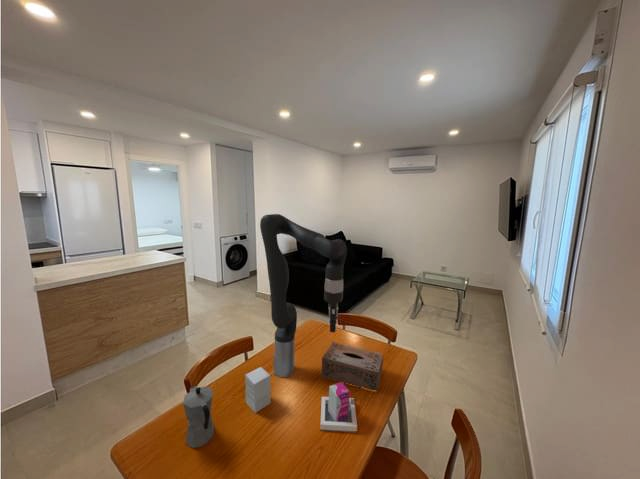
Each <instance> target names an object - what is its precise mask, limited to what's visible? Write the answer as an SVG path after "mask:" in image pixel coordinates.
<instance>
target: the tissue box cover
mask: <svg viewBox="0 0 640 479" xmlns="http://www.w3.org/2000/svg"><path fill="white" fill-rule="evenodd" d="M383 362H384V354H383V353H380V352H375V351H371V350H367V349H363V348H360V347H355V346H351V345H347V344H344V343H338V342H335V341H331V344H329V347H327V349H326V351H325V352H324V354H323V355H322V357H321V377H322V378H325V379H328V378H329V380H331V379H332V381H335V380H336V382H338V381H340V382H344V383H343V384H345V383H348V384H352V385H356V386H359V387H364V388H367V389H371V390H376V391H377V390H378V391H379V388H378V386H379V387H380V383H379V382H381V379H380V377H381V378H382V375H381V373H382V374H383V365H384V363H383ZM340 382H339V383H340ZM348 384H347V385H348Z"/></svg>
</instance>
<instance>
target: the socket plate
mask: <svg viewBox="0 0 640 479" xmlns="http://www.w3.org/2000/svg"><path fill="white" fill-rule="evenodd" d="M328 402H329V396H321V402H320V403H321V405H320V406H321V407H320V428H319V429H320V430H319V431H327V432H328V431H329V432H339V431H340V433H343V432H345V433H352V432H351V431H357V432H358V423H357V414H356V404H355V398H353V397H352V398H351V397H349V408H348V418H347V419H344V420H341V421H339V422H334V421H333V419H332V418H331V416H330V415H329V413H328ZM346 431H347V432H346Z"/></svg>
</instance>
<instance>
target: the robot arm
mask: <svg viewBox="0 0 640 479" xmlns="http://www.w3.org/2000/svg"><path fill="white" fill-rule="evenodd" d="M259 223H260V224H259V228H260V233H261V238H262V242H263V247H264V251H265V258H266V265H267V266H266V267H267V276H268V282H269V290H270V292H269V293H270V303H271V304H270V305H271V309H270V310H271V314H270V316H271V321H272V323H273V325H274V326H275V327H276V330H275V331H274V332H275V333H274V354H273V375H275V376H277V377H279V378H288V377H290V376H292V375H293V374H294V372H295V336H296V330H297V321H298V320H297V318H298V317H297V316H298V315H297V314H298V313H297V312H298V311H297V309H296V307H295V305H294V304H292V303H291V302H287V291H288V286H289V282H290V272H289V265H288V261H287V259H286V257H285V255H284V253H283V252H282V250H281V249H280V246H279V242H278V235H280V234H282V235H286V236H290V237H292V238H294V239H295V241H297V242H298V243H300V244H301V245H303V246H305V247H307V248H308V249H309V248H310V249H312V250H315V251H316V252H317V253H319V254H320V255H321V256H323V257H325V258H328V259H329V261H328V263H327V264H326V266H325V277H324V278H325V279H324V280H325V281H324V293H323V294H324V295H323V297H324V298H323V300H324V301H325V302H326V303H328V307H327V308H328V318H329V332H330V333H336V329H337V328H336V327H337V318H338V314H339V313H338V311H339V303H341V302H343V299H344V268H345V263H346V259H347V255H348V254H347V252H348V251H347V250H348V248H347V244H346V242H345V241H344V240H343V239H340V238H338V239H337V238H336V239H333V240H330V239H328V238H326V237H325V235H324V234H322V233H319V232H317V231H314V230H312V229H310V228H306V227H304V226H302V225H300V224H298V223H296V222H293V221H292V220H290V219H288V217H286V216H284V215H282V214H279V213H274V214H273V213H272V214H265V215H263V216H262V217H261V218H260V222H259Z"/></svg>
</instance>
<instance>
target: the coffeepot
mask: <svg viewBox="0 0 640 479" xmlns="http://www.w3.org/2000/svg"><path fill="white" fill-rule="evenodd" d="M213 391H214V390H213V389H212V388H210V387H207V386H196V385H194V386H191V387H190V388H189V392H188V393H186V394H185V395H184V398H183V401H182V402H183V403H182V404H183V405H182V406H183V409H184V414H185V417H186V420H187V421H188V423H187V430H186V438H185V444H186V445H188V447H190V448H194V449H196V448H199V447H202V446H205V445H206V444H208V443H209V442H210V441H211V440H212V438H213V436H214V435H215V434H214V433H215V426H214V425H215V424H214V421H213V418H212V414H211V412H212V401H213Z"/></svg>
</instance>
